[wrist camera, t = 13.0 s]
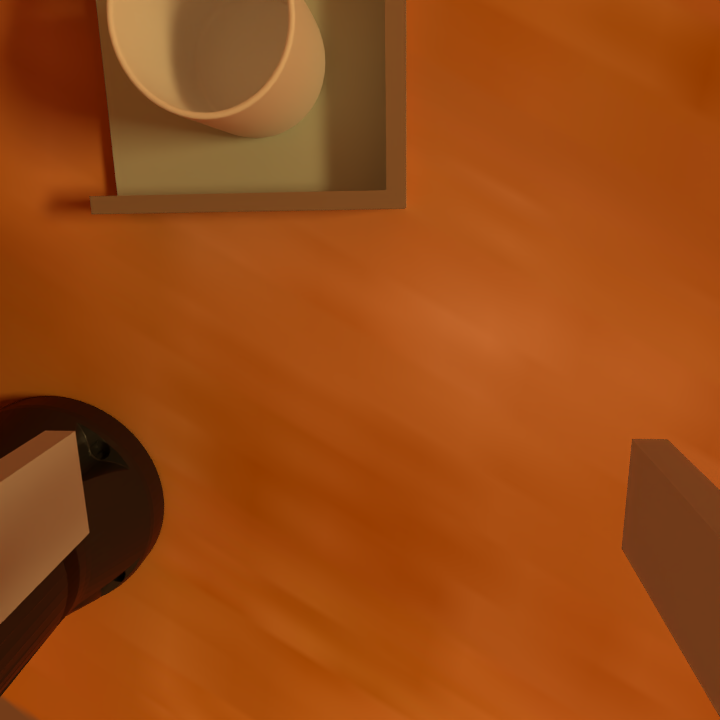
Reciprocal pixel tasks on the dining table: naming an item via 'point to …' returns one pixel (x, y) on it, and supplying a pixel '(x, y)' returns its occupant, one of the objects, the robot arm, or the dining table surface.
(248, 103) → the mug
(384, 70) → the shallow square tray
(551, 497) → the dining table surface
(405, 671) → the dining table surface
